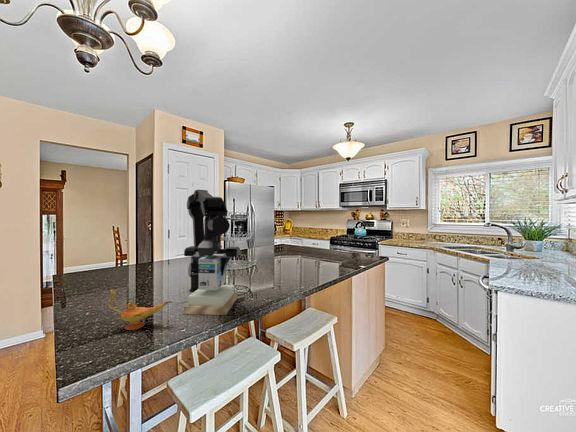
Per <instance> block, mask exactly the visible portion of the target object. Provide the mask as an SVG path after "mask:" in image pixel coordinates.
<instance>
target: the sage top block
mask: <svg viewBox="0 0 576 432" xmlns="http://www.w3.org/2000/svg"><path fill="white" fill-rule="evenodd" d="M234 292H235V284H223V285H222V286H221V287H220V288H219V289H218V290H199V289H197V290H196V291H192V293H191V294H190V295H188V297H187V299H188V300H187V304H188V305H194V306H224V305H225V304H226V302H227V301H228V300H229V299H230V298H231V296H232V295H233V294H234Z"/></svg>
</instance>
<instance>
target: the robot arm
mask: <svg viewBox="0 0 576 432" xmlns="http://www.w3.org/2000/svg"><path fill="white" fill-rule="evenodd" d="M186 209H187V210H188V215H189V217H190V218H191V219H192V232H193V245H191V246H188V247H185V249H184V252H183V256H184V257H190V262H189V264H188V269H187V274H188V275H187V276H189V278H190V289H189V292H195V291H196V290H197V289H199V259H200V258H202V257H204V256H212V255H213V254H223V255H224V257H222V269H221V275H222V276H223V275H224V272H225V273H226V269H227V267H228V264H229V261H230V260H231V259H232V258H236V257H238V256H240V254H241V248H240V247H239V246H227V247H226V248H222V247H223V245H222V237H223V235H224V234H226V233H228V231H229V230H230V227H231V226H230V225H231V224H230V221H229V220H228V219H227V218H226V217H227V216H228V208H227V205H226V203H225V201H224V200H223V198H222V197H219V196H213V195H212V194H211V193H209V191H208V190H206V189H195V190H194V191H193V193H192V194H191V195H189V196H188V197H187V201H186Z"/></svg>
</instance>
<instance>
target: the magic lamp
mask: <svg viewBox="0 0 576 432" xmlns="http://www.w3.org/2000/svg"><path fill="white" fill-rule="evenodd" d="M116 294H117V293H116V291H115V290H113V289H111V290H110V293H109V295H110V298H109V300H108V302H107V307H108V308H110V309H111V310H113V311H114V312H117V313H118V314H120V317H119V318H118V317H116V319H117V320H120V319H121V320H123V321H124V322H129V323H128V324H126V325H125V327H124V329H125V330H128V331H131V330H132V331H133V330H138V329H140V328H142V327H143V326H145V322H143V321H141V320H143V319H145V318H148V317H150V316H152V315H154V314H155V313H157V312H158V311H160V310H162V309H163V308H164V307H165V306H166V305H168V304H170V303H173V301H172V300H169V301H165V302H162V303H160V304H157V305H156V306H151V307H146V306H145V307H144V306H137V305H136V304H134V303H133V300H132V301H129V304H128V305H126V306H123V307H121V306H120V304H118V301H117V299H116ZM111 300H114V302H115V303H114V304H115V305H116V306H117V307H118V308H119V309H121V310H123V311H120V310H118V309H116V308H113V307H111V306H110V302H111ZM124 309H125V310H124Z"/></svg>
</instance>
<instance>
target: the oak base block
mask: <svg viewBox="0 0 576 432" xmlns="http://www.w3.org/2000/svg"><path fill="white" fill-rule="evenodd" d="M238 298H239V297H238V291H234V294H233V295H232V296H231V298H230V299H229V300H228V301H227V302H226V304H225V305H224V306H194V305H188V303H187V304H186V305H184V306H183V314H184V315H213V316H226V315H228V313H229V311H230V310H231V308H232V307H233V306H234V304H235V303H236V301H237V300H238Z"/></svg>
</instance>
